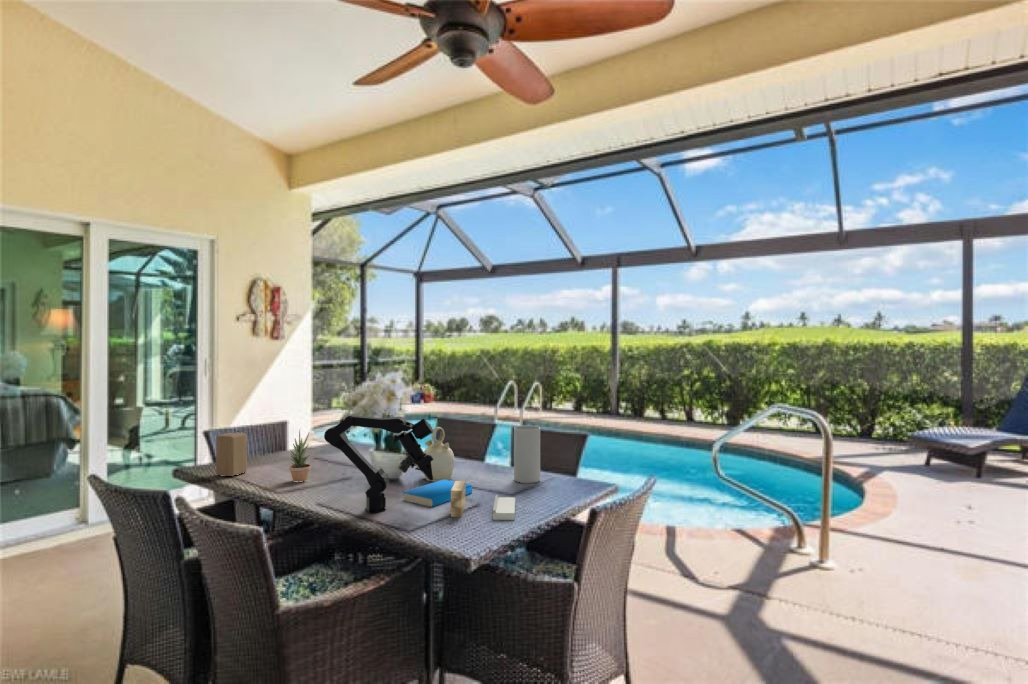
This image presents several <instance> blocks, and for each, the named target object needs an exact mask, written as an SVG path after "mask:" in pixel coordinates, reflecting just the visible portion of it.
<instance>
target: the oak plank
mask: <svg viewBox="0 0 1028 684" xmlns="http://www.w3.org/2000/svg"><path fill="white" fill-rule="evenodd" d="M454 482H455V483H454V485H453V487H452V489H451V500H450V517H451V518H458V517H459V518H462V516H463V514H464V511H465V508H466V495H465V486H466V484H467V483H466V480H455V481H454Z"/></svg>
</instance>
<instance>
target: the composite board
mask: <svg viewBox="0 0 1028 684" xmlns="http://www.w3.org/2000/svg"><path fill="white" fill-rule="evenodd" d="M493 501H494V502H493V508H492V520H497V521H500V520H502V521H505V520H506V521H511V520H512V521H515V517H516V515H515V514H516V513H515V512H516V497H508V496H507V497H499V495H498V494H496V495H495V497H494V500H493Z"/></svg>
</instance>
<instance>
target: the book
mask: <svg viewBox="0 0 1028 684" xmlns="http://www.w3.org/2000/svg"><path fill="white" fill-rule="evenodd" d="M454 483H455V481H453V480H444V479H443V480H440V481H437V482H430V483H428V484H424V485H421V486H418V487H415V488H411V489H408V490H405V491H402V493H403V501H405V502H409V503H413V502H414V504H417V503H418V505H422V504H423V505H422V506H426V505H427V506H426V507H430V506H431V508H433V507H436V506H439V505H441V504H445V503H447V501H448V502H451V489H452V487H453V485H454ZM469 493H470V494H472V493H473V486H472V484H468V483H466V486H465V496H467V495H470V494H469ZM444 502H445V503H444Z"/></svg>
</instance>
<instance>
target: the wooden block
mask: <svg viewBox="0 0 1028 684" xmlns="http://www.w3.org/2000/svg"><path fill="white" fill-rule="evenodd" d="M247 436H248V435H247V433H245V432H231V431H230V432H228V433H227V432H225V433H222V434H218V435H216V438H215V439H216V440H215V448H216V449H215V451H216V452H215V465H216V466H215V474H217V475H225V476H234V475H237V474H240V473H243V472H246V473H247V466H248V465H247V464H248V463H247V462H248V461H247V457H248V456H247V455H248V453H247V447H248V446H247V444H248V443H247V442H248V441H247V439H248V438H247ZM217 475H216V476H217ZM234 477H235V476H234Z"/></svg>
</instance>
